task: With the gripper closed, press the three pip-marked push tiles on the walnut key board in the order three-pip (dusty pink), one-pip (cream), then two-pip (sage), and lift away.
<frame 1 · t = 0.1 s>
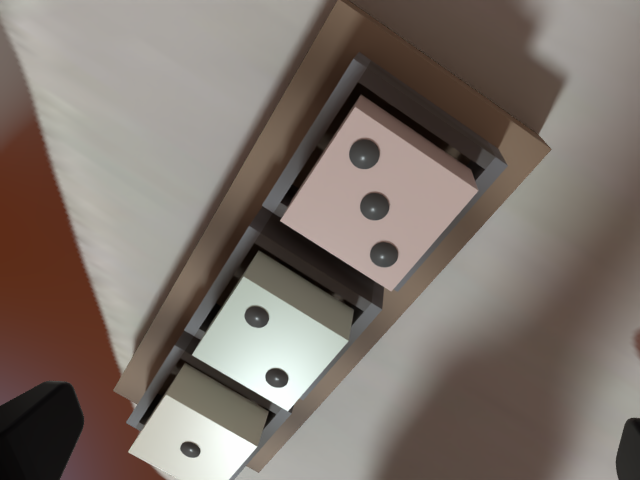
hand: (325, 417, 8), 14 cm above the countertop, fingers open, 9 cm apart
digit board: (297, 271, 24), on the countertop
tile two: (273, 332, 20), point 5 cm above the countertop, slide at 0.0 cm
tile one: (198, 432, 23), point 5 cm above the countertop, slide at 0.0 cm
tile three: (376, 195, 17), point 5 cm above the countertop, slide at 0.0 cm
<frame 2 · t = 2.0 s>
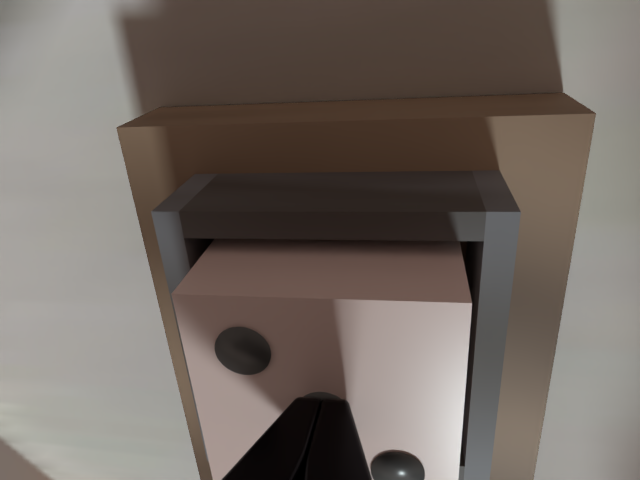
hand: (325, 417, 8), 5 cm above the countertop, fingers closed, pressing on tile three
digit board: (362, 454, 16), on the countertop
tile three: (331, 372, 9), point 4 cm above the countertop, slide at 0.5 cm, touching gripper
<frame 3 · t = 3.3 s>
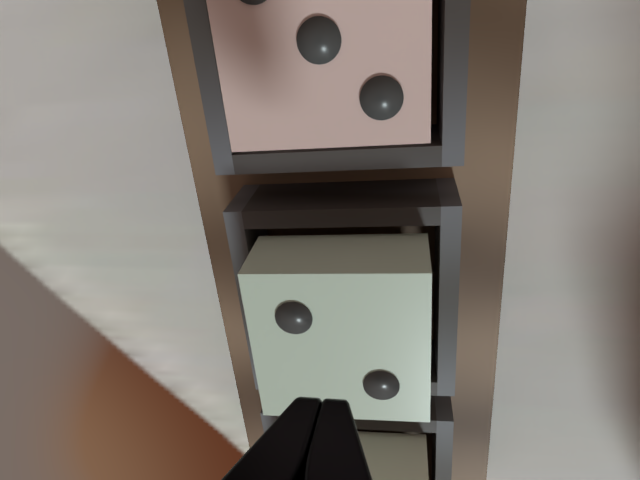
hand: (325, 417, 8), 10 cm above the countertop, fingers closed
digit board: (356, 243, 17), on the countertop
tile two: (342, 327, 13), point 5 cm above the countertop, slide at 0.0 cm
tile three: (325, 36, 11), point 4 cm above the countertop, slide at 1.0 cm
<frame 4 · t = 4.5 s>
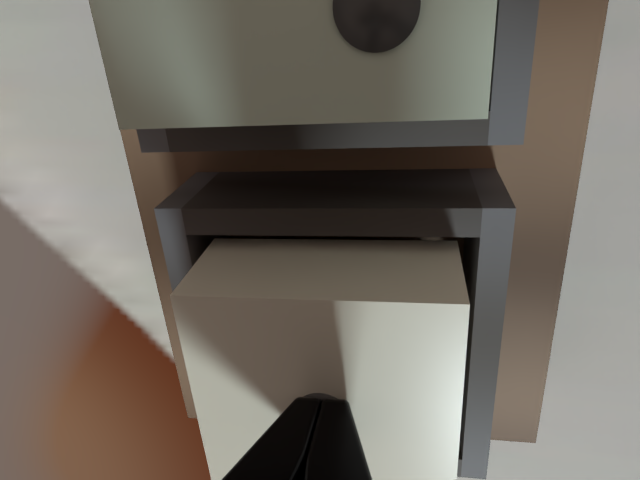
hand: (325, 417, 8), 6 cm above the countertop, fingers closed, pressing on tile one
tile one: (330, 374, 9), point 5 cm above the countertop, slide at 0.3 cm, touching gripper
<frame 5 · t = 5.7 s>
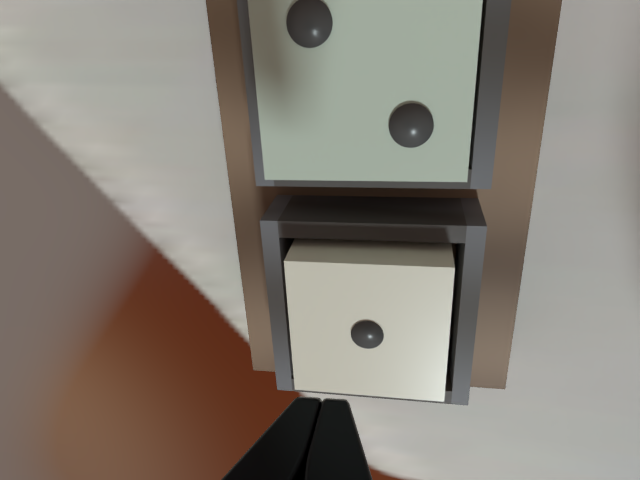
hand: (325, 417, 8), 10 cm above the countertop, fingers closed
digit board: (379, 47, 15), on the countertop
tile two: (365, 69, 11), point 5 cm above the countertop, slide at 0.0 cm
tile one: (369, 314, 15), point 4 cm above the countertop, slide at 1.0 cm
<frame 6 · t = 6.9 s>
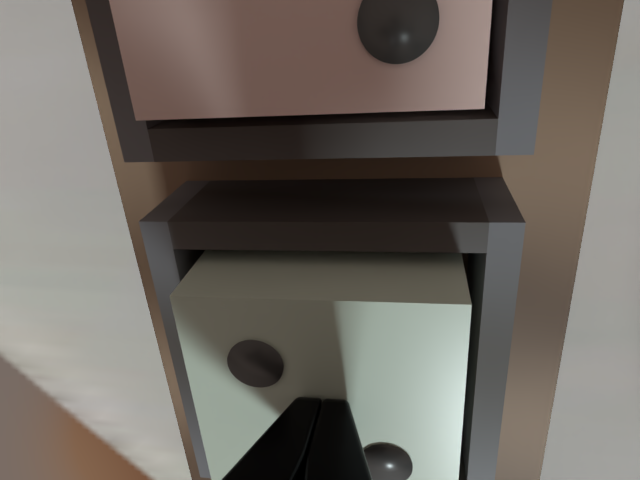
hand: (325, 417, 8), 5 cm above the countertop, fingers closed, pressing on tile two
digit board: (352, 267, 13), on the countertop
tile two: (330, 374, 9), point 4 cm above the countertop, slide at 0.8 cm, touching gripper
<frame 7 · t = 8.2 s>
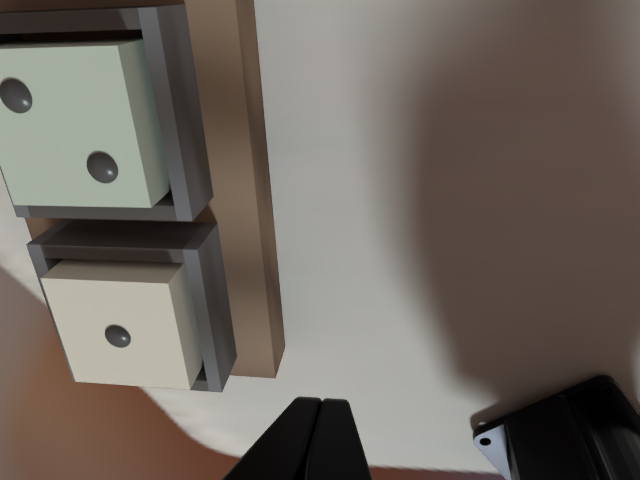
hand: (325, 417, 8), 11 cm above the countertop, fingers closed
digit board: (140, 96, 18), on the countertop
tile two: (80, 123, 15), point 4 cm above the countertop, slide at 1.0 cm
tile one: (131, 319, 18), point 4 cm above the countertop, slide at 1.0 cm
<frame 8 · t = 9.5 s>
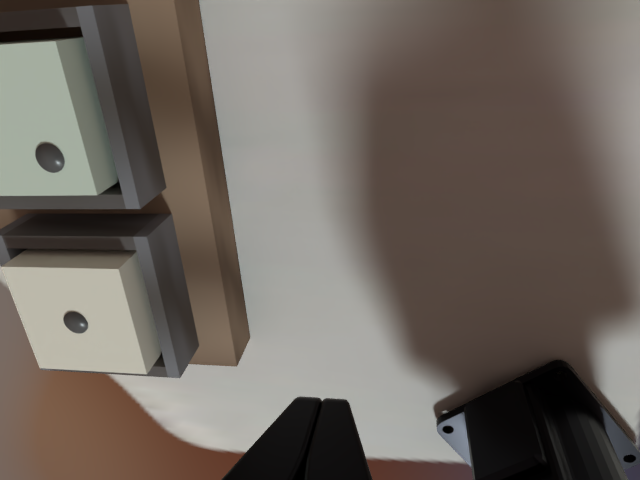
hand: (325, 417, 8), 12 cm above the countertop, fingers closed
digit board: (99, 95, 19), on the countertop
tile two: (31, 118, 16), point 4 cm above the countertop, slide at 1.0 cm
tile one: (91, 307, 19), point 4 cm above the countertop, slide at 1.0 cm
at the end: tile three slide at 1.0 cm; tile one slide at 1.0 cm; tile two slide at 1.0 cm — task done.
